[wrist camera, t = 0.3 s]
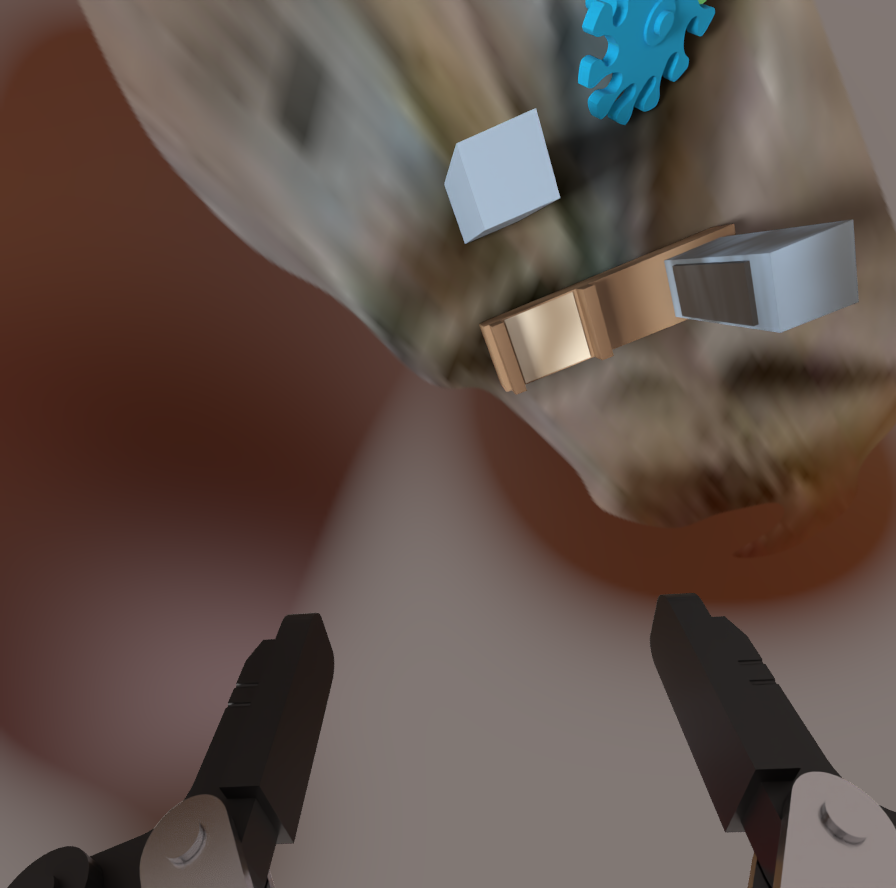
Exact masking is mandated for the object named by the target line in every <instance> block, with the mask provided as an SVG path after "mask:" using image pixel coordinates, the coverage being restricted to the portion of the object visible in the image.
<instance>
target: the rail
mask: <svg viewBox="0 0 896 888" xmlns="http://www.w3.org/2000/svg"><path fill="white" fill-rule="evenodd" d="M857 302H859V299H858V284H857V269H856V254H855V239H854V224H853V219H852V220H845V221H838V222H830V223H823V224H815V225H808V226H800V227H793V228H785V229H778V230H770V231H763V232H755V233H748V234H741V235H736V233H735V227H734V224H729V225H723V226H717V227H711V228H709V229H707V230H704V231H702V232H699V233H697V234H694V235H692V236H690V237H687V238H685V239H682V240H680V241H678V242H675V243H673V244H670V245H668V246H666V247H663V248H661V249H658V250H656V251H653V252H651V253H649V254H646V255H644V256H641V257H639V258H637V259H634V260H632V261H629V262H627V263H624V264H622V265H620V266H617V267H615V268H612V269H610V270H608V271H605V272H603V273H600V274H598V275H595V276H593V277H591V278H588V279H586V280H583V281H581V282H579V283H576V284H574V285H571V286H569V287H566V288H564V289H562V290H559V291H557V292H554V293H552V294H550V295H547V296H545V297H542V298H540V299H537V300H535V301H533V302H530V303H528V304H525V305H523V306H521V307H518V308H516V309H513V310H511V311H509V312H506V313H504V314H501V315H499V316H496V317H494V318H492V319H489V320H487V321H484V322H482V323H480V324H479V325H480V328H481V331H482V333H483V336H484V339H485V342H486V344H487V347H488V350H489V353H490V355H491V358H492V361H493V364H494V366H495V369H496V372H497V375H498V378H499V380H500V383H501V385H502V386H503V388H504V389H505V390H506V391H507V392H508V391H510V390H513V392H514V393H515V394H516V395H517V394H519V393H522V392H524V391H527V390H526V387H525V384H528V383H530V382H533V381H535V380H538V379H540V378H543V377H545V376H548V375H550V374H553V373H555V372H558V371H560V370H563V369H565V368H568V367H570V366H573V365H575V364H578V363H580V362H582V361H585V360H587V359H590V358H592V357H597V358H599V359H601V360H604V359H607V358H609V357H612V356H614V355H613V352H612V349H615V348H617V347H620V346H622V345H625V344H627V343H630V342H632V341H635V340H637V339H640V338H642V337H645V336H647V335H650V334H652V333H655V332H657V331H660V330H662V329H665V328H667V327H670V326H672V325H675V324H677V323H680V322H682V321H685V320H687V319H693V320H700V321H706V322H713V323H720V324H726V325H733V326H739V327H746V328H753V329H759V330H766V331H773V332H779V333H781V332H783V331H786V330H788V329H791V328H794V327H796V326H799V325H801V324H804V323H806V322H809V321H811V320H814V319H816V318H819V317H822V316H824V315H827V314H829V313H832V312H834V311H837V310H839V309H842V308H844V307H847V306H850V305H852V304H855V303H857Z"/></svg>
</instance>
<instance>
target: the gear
mask: <svg viewBox="0 0 896 888" xmlns="http://www.w3.org/2000/svg"><path fill="white" fill-rule="evenodd" d="M705 1H706V0H586V3H585V4H586V7H587V9H588V12H587V14H586V17H585V19H584V22H583V25H582V28H583V30H584V32H586V33H588V34H591V35H593V36H596V37H600V36H603V35H604V36H605V37H606V39H607V41H608V50H607V53H606V55H605V57H604V58H603V59H602V60H600V59H598V58H596V57H593V56H591V55H587V56H585V57H584V58H583V59H582V60H581V63H580V68H579V75H578V83H579V84H581V85H583V86H585V87H587V88H593V87H595V86H596V85H597V84H598V83H599V82H600V81H601V80H602V79H603V78H604V77H605V76H607V75H608V74H611V73H612V78H611V81H610V83H609V84H608V86H607V87H606V88H604V89H598V90H595V91H594V92H593V93H592V94H591V95H590V97H589V99H588V107H589V110H590V113H591V115H593V116H595V117H597V118H599V119H603V118H604V117H605V116H606V115H607V114H608V115H607V116H608V117H609V118H610V119H612V120H614V121H616V122H618V123H619V124H623V125H626V123H627V122H628V121H629V119H630V117H631V114H632V111H633V107H635V108H637V109H640V110H642V111H644V112H646V111H649V110H651V109H652V108H654V107H655V106H656V105H657V103H658V101H659V97H660V92H659V88H660V81H661V77H662V74H663V77H664V78H666V79H668V80H670V81H673V82H675V81H676V80H677V79H678V78H679V77H680V76H681V75H682V74H683V73H684V71H685V70H686V69H687V67H688V64H689V58H688V57H687V56H686V55H685V52H684V36H685V31H686V28H687V31H688V32H689V33H692V34H694V35H697V36H702V35H703V34H704V33H705V31H706V30H707V28H708V26H709V24H710V22H711V20H712V18H713V16H714V14H715V8H713V7H711V6H707V5H704V4H703V3H704V2H705ZM625 88H626V89H625ZM624 89H625V91H624V93H623V94H622V96H621V97H620V98H618V99H617V100H616V98H617V97H618V96H619V95H620V93H621V92H622V91H623V90H624ZM615 100H616V101H615ZM614 101H615V102H614Z"/></svg>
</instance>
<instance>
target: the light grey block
mask: <svg viewBox="0 0 896 888" xmlns="http://www.w3.org/2000/svg"><path fill="white" fill-rule="evenodd" d="M444 185H445V188H446V191H447V193H448V196H449V199H450V202H451V205H452V208H453V210H454V213H455V216H456V219H457V222H458V225H459V228H460V230H461V233H462V236H463V239H464V242H465V244H467V243H469V242H471V241H474V240H476V239H478V238H481V237H483V236H485V235H488V234H490V233H492V232H495V231H497V230H499V229H502V228H504V227H506V226H509V225H511V224H513V223H516V222H518V221H520V220H522V219H523V218H525V217H527V216H529V215H531V214H532V213H534V212H536V211H538V210H540V209H541V208H543V207H545V206H547V205H549V204H550V203H552V202H554V201H556V200H558V199H559V198H560V195H559V191H558V188H557V184H556V180H555V177H554V173H553V169H552V166H551V162H550V158H549V155H548V151H547V147H546V144H545V140H544V136H543V132H542V129H541V125H540V121H539V118H538V114H537V110H536V108H535V109H533V110H531V111H528V112H526V113H524V114H522V115H519V116H517V117H515V118H513V119H510V120H508V121H506V122H504V123H501V124H499V125H497V126H495V127H492V128H490V129H488V130H486V131H483V132H481V133H479V134H477V135H475V136H472V137H470V138H468V139H466V140H463V141H461V142H459V143H457V144H456V146H455V150H454V153H453V156H452V160H451V163H450V167H449V170H448V173H447V177H446V180H445V183H444Z"/></svg>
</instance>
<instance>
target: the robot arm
mask: <svg viewBox="0 0 896 888" xmlns="http://www.w3.org/2000/svg"><path fill="white" fill-rule="evenodd" d="M650 647H651V653H652V657H653V661H654V664H655V666H656V669H657V671H658V674H659V676H660V678H661V680H662V683H663V685H664V688H665V690H666V693H667V695H668V697H669V700H670V702H671V704H672V707H673V709H674V712H675V714H676V716H677V719H678V721H679V724H680V726H681V728H682V731H683V733H684V735H685V738H686V740H687V742H688V745H689V747H690V750H691V752H692V754H693V757H694V759H695V762H696V764H697V766H698V769H699V771H700V773H701V776H702V778H703V780H704V783H705V785H706V788H707V790H708V792H709V795H710V797H711V799H712V802H713V804H714V807H715V809H716V811H717V814H718V816H719V819H720V821H721V823H722V826H723V828H724V831H725V832H746V835H747V837H748V839H749V841H750V843H751V846H752V848H753V850H754V854H753V857H752V863H751V870H750V875H749V881H748V887H747V888H896V812H894V811H891V810H888V809H886V808H884V807H882V806H880V805H878V804H877V803H876V802H875V801H874V800H873V799H872V798H871V797H870V796H868V795H867V794H866V793H865V792H864V791H862V790H861V789H860V788H858V787H857V786H855V785H853V784H852V783H850V782H849V781H847V780H845V779H843V778H842V777H841V776H840V775H839V774H838V773H837V771H836V770H835V769H834V768H833V767H832V765H831V764H830V763H829V761H828V760H827V759H826V757H825V755H824V754H823V752H822V751H821V749H820V748H819V746H818V745H817V743H816V741H815V740H814V738H813V737H812V735H811V734H810V732H809V731H808V730H807V728H806V726H805V724H804V723H803V721H802V720H801V718H800V717H799V715H798V714H797V712H796V711H795V709H794V707H793V706H792V704H791V703H790V701H789V700H788V699H787V697H786V695H785V694H784V692H783V691H782V689H781V687H780V686H779V684H776V682H775V678H774V677H773V675H772V674H771V672H770V671H769V669H768V668H767V666H766V664H763V662H762V658H761V657H760V655H759V654H758V652H757V650H756V649H755V647H754V646H753V644H752V643H751V641H750V640H749V638H748V637H747V636H746V635H745V634H744V633H743V632H742V631H741V630H740V629H738V628H737V627H736V626H735V625H734V624H733V623H732V622H730V621H729V620H728V619H727V618H726V617H725V616H723V617H711V615H710V614H709V612H708V610H707V609H706V607H705V605H704V604H703V602H702V600H701V599H700V598H699V596H698V595H696V594H695V593H686V594H668V595H660V596H659V597H658V600H657V605H656V610H655V615H654V620H653V625H652V630H651V635H650ZM333 674H334V655H333V650H332V648H331V644H330V642H329V638H328V635H327V632H326V630H325V627H324V624H323V621H322V618H321V616H320V614H319V613H309V614H293V615H287V616H285V618H284V619H283V621H282V623H281V626H280V628H279V631H278V634H277V636H276V639H273V640H272V639H271V640H263V641H262V642H261V643H260V644H259V646H258V647H257V648H256V649H255V650H254V652H253V653H252V654H251V655H250V656H249V658H248V659H247V660H246V662H245V664H244V667H243V669H242V671H241V674H240V676H239V678H238V681H237V683H236V685H237V686H236V688H234V690H233V693H232V695H231V697H230V699H229V702H228V707H227V708H226V709H225V711H224V714H223V716H222V718H221V721H220V723H219V725H218V728H217V730H216V732H215V735H214V737H213V740H212V742H211V744H210V746H209V749H208V751H207V753H206V756H205V758H204V760H203V763H202V765H201V768H200V770H199V772H198V774H197V777H196V779H195V782H194V784H193V786H192V788H191V790H190V791H189V793H188V794H187V796H186V798H185V799H184V800H183V801H182V802H181V803H179V804H178V805H176V806H175V807H174V808H172V809H171V810H170V811H169V812H168V813H167V814H166V815H165V816H164V817H163V818H162V819H161V820H160V822H159V823H158V824H157V826H156V827H155V828H154V829H152V830H151V831H149V832H147V833H145V834H143V835H141V836H139V837H136V838H134V839H131V840H129V841H127V842H124V843H122V844H119V845H117V846H114V847H112V848H110V849H107V850H105V851H102V852H100V853H97V854H95V855H93V856H88V855H87V854H86V853H85V852H84V851H82V850H81V849H80V848H77V847H73V846H72V847H71V846H67V847H62V848H58V849H56V850H53V851H51V852H49V853H47V854H45V855H43V856H42V857H40V858H39V859H37V860H36V861H34V862H33V863H32V864H31V865H29V866H28V867H27V868H26V869H25V870H24V871H22V872H21V873H20V874H19V875H18V876H17V877H16V879H15V880H14V881H13V882H12V883H11V884H10V885H9V886H8V888H275V886H274V883H273V880H272V877H271V873H270V871H269V869H270V865H271V861H272V857H273V853H274V850H275V846H276V844H292V843H294V840H295V836H296V832H297V827H298V823H299V819H300V815H301V811H302V807H303V802H304V798H305V794H306V790H307V786H308V781H309V777H310V773H311V769H312V764H313V760H314V756H315V752H316V748H317V743H318V739H319V735H320V731H321V727H322V722H323V718H324V714H325V710H326V705H327V701H328V697H329V693H330V688H331V684H332V680H333Z"/></svg>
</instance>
